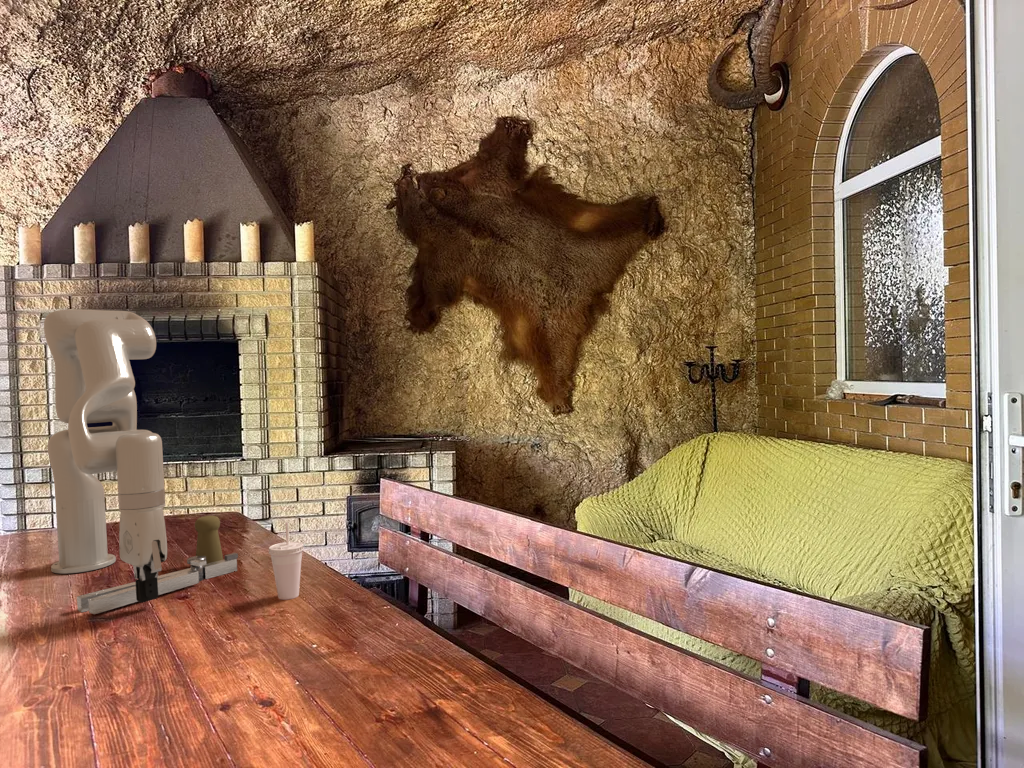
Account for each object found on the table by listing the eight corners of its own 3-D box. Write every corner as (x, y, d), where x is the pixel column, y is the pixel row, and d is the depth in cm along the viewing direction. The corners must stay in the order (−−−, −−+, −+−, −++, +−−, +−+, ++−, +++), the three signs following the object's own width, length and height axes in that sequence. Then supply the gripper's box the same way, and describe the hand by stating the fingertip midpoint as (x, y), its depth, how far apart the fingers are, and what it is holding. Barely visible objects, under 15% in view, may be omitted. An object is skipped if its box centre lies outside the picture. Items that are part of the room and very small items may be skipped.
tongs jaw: (79, 609, 127) (78, 587, 127) (200, 574, 147) (199, 554, 147) (94, 614, 124) (93, 591, 124) (216, 577, 144) (215, 558, 143)
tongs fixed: (77, 610, 128) (76, 590, 128) (234, 568, 152) (233, 552, 152) (82, 612, 127) (80, 593, 126) (239, 570, 150) (239, 553, 150)
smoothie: (313, 592, 133) (309, 519, 133) (292, 603, 127) (288, 527, 127) (285, 589, 135) (281, 518, 135) (263, 600, 129) (259, 526, 129)
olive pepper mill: (213, 569, 152) (210, 519, 151) (188, 568, 153) (186, 519, 153) (229, 561, 158) (227, 513, 157) (206, 560, 159) (203, 513, 159)
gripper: (104, 500, 129) (109, 598, 129) (137, 508, 119) (143, 614, 119) (146, 493, 134) (151, 587, 135) (181, 501, 125) (186, 601, 125)
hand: (147, 599), depth 127 cm, fingers closed
